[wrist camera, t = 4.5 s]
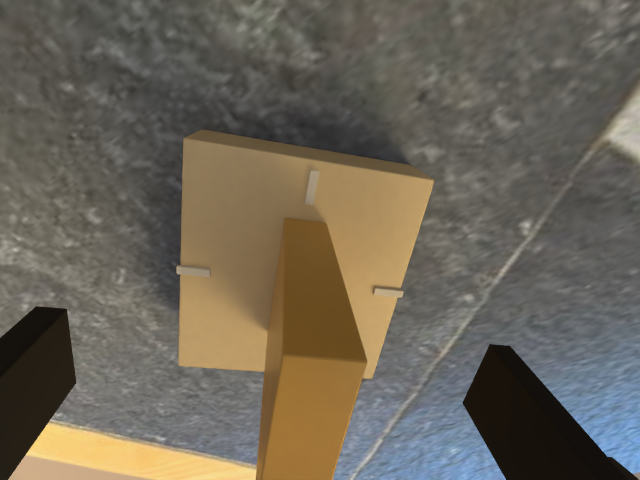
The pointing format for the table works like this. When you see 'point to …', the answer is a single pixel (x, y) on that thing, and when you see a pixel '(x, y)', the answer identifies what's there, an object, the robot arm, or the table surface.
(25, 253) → the table surface
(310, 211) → the panel
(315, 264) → the lock knob
